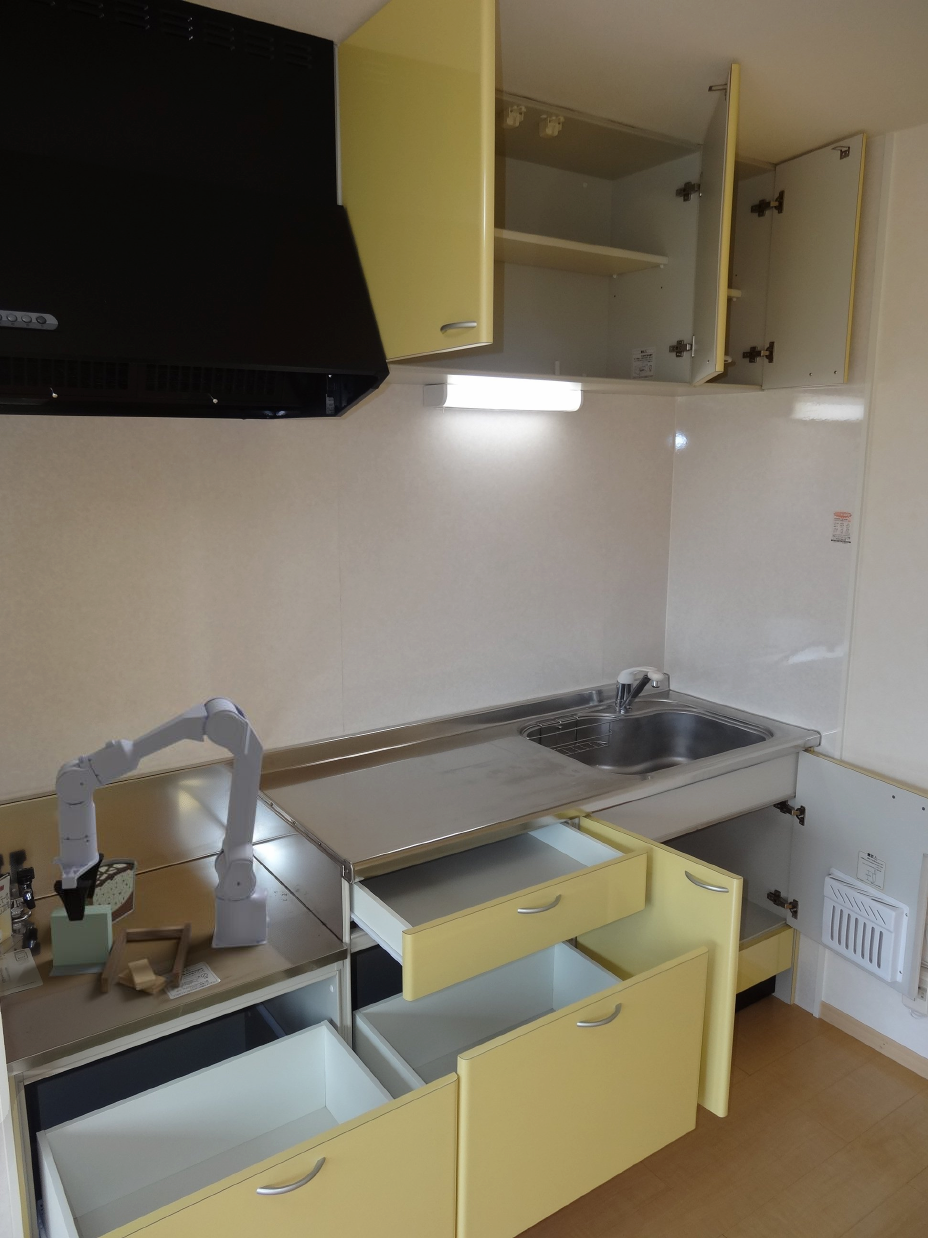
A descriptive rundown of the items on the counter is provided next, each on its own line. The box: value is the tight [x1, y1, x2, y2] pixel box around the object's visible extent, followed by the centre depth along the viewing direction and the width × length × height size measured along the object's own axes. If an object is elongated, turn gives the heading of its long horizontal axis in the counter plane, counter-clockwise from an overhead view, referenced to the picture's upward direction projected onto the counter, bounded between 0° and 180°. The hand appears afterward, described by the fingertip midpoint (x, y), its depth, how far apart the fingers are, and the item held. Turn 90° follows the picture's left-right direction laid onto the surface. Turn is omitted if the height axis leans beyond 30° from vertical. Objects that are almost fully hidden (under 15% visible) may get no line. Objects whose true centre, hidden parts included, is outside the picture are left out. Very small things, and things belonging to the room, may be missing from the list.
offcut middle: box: [117, 969, 168, 995], centre depth 146 cm, size 8×3×1 cm, turn 65°
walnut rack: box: [100, 922, 193, 994], centre depth 153 cm, size 12×17×3 cm
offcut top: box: [127, 958, 156, 991], centre depth 146 cm, size 7×3×1 cm, turn 32°
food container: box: [85, 857, 139, 925], centre depth 167 cm, size 12×6×10 cm, turn 159°
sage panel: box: [49, 905, 114, 966], centre depth 152 cm, size 9×3×9 cm, turn 100°
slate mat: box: [48, 943, 114, 977], centre depth 153 cm, size 9×9×1 cm
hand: (81, 908), depth 151 cm, fingers open, 7 cm apart
